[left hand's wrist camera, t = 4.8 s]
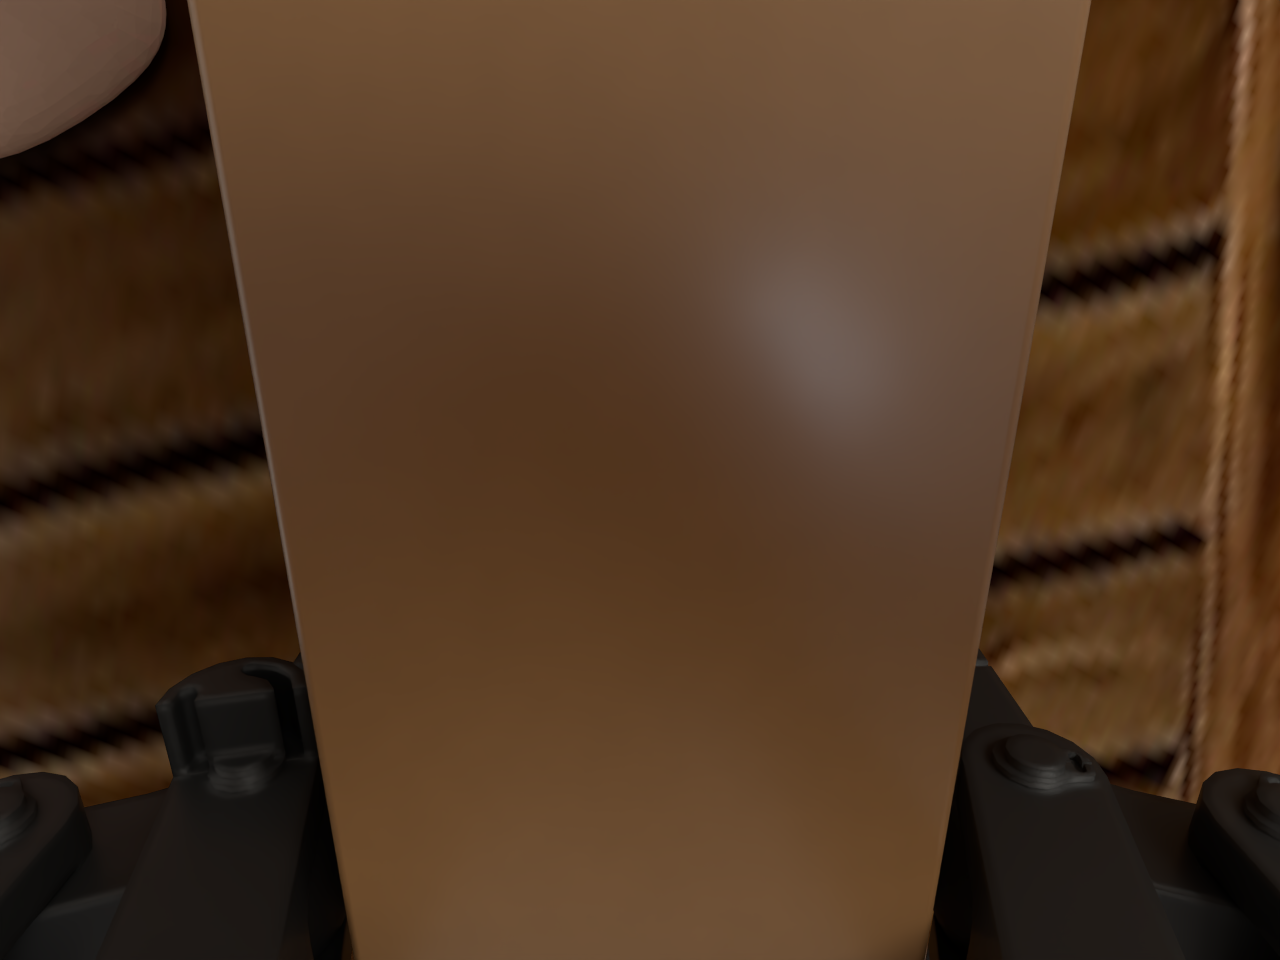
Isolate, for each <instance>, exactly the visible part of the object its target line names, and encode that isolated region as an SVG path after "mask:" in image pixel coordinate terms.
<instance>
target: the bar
mask: <svg viewBox="0 0 1280 960" xmlns="http://www.w3.org/2000/svg"><path fill="white" fill-rule="evenodd" d="M187 2H188V8H189V13H190V19H191V25H192V31H193V36H194V42H195V48H196V54H197V59H198V65H199V71H200V76H201V82H202V88H203V94H204V99H205V105H206V111H207V117H208V122H209V128H210V134H211V140H212V145H213V151H214V157H215V163H216V168H217V174H218V180H219V186H220V191H221V197H222V203H223V209H224V214H225V220H226V226H227V232H228V237H229V243H230V249H231V254H232V260H233V266H234V272H235V277H236V283H237V289H238V295H239V300H240V306H241V312H242V318H243V323H244V329H245V335H246V341H247V346H248V352H249V358H250V364H251V369H252V375H253V381H254V387H255V392H256V398H257V404H258V410H259V415H260V421H261V427H262V432H263V438H264V444H265V450H266V455H267V461H268V467H269V473H270V478H271V484H272V490H273V496H274V501H275V507H276V513H277V519H278V524H279V530H280V536H281V542H282V547H283V553H284V559H285V565H286V570H287V576H288V582H289V588H290V593H291V599H292V605H293V610H294V616H295V622H296V628H297V633H298V639H299V645H300V651H301V656H302V662H303V668H304V674H305V679H306V685H307V691H308V697H309V702H310V708H311V714H312V720H313V725H314V731H315V737H316V743H317V748H318V754H319V760H320V766H321V771H322V777H323V783H324V788H325V794H326V800H327V806H328V811H329V817H330V823H331V829H332V834H333V840H334V846H335V852H336V857H337V863H338V869H339V875H340V880H341V886H342V892H343V898H344V903H345V909H346V915H347V921H348V926H349V932H350V938H351V944H352V949H353V955H354V960H924V959H925V953H926V948H927V942H928V936H929V930H930V925H931V919H932V913H933V907H934V902H935V896H936V890H937V884H938V879H939V873H940V867H941V861H942V856H943V850H944V844H945V838H946V833H947V827H948V821H949V815H950V809H951V804H952V798H953V792H954V786H955V781H956V775H957V769H958V763H959V758H960V752H961V746H962V740H963V735H964V729H965V723H966V717H967V712H968V706H969V700H970V694H971V689H972V683H973V677H974V671H975V666H976V660H977V654H978V648H979V643H980V637H981V631H982V625H983V620H984V614H985V608H986V602H987V597H988V591H989V585H990V579H991V574H992V568H993V562H994V556H995V551H996V545H997V539H998V533H999V528H1000V522H1001V516H1002V510H1003V505H1004V499H1005V493H1006V487H1007V481H1008V476H1009V470H1010V464H1011V458H1012V453H1013V447H1014V441H1015V435H1016V430H1017V424H1018V418H1019V412H1020V407H1021V401H1022V395H1023V389H1024V384H1025V378H1026V372H1027V366H1028V361H1029V355H1030V349H1031V343H1032V338H1033V332H1034V326H1035V320H1036V315H1037V309H1038V303H1039V297H1040V292H1041V286H1042V280H1043V274H1044V269H1045V263H1046V257H1047V251H1048V246H1049V240H1050V234H1051V228H1052V223H1053V217H1054V211H1055V205H1056V200H1057V194H1058V188H1059V182H1060V177H1061V171H1062V165H1063V159H1064V153H1065V148H1066V142H1067V136H1068V130H1069V125H1070V119H1071V113H1072V107H1073V102H1074V96H1075V90H1076V84H1077V79H1078V73H1079V67H1080V61H1081V56H1082V50H1083V44H1084V38H1085V33H1086V27H1087V21H1088V15H1089V10H1090V4H1091V0H187Z"/></svg>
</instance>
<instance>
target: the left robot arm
mask: <svg viewBox="0 0 1280 960" xmlns="http://www.w3.org/2000/svg"><path fill="white" fill-rule="evenodd" d="M155 707H156V711H157V715H158V718H159V722H160V726H161V730H162V734H163V738H164V742H165V746H166V750H167V754H168V757H169V761H170V765H171V769H172V773H173V779H172V782H171V784H170V786H169V788H166V789H163V790H159V791H156V792H152V793H149V794H145V795H140V796H135V797H131V798H126V799H122V800H117V801H112V802H108V803H103V804H99V805H94V806H89V807H85V808H84V806H83V803H82V799H81V796H80V793H79V790H78V787H77V786H76V785H75V784H74V783H73V782H72V781H71V780H69V779H68V778H67V777H66V776H63V775H58V774H52V773H46V772H38V773H29V774H20V775H13V776H10V777H6V778H2V779H0V960H351V952H352V946H351V939H350V932H349V926H348V921H347V915H346V909H345V903H344V898H343V892H342V886H341V880H340V875H339V869H338V863H337V857H336V852H335V846H334V840H333V834H332V829H331V823H330V817H329V811H328V806H327V800H326V794H325V788H324V783H323V777H322V771H321V766H320V760H319V754H318V748H317V743H316V737H315V731H314V725H313V720H312V714H311V708H310V702H309V697H308V691H307V685H306V679H305V674H304V668H303V662H302V656H301V652H300V654H299V655H298V657H297V658H296V659H295V661H294V662H289V661H285V660H281V659H277V658H274V657H253V658H242V659H238V660H233V661H228V662H223V663H219V664H216V665H214V666H211V667H209V668H206V669H204V670H201V671H199V672H196V673H194V674H191V675H190V676H188V677H187V678H185V679H184V680H182V681H181V682H179V683H178V684H176V685H175V686H173V687H172V688H170V689H169V690H168V691H167V692H166V693H165V695H164V696H163V697H162V698H161V699H160V701H159V702H158V703H157V704H156V705H155ZM933 910H934V914H933V920H932V926H931V931H930V937H929V943H928V949H927V954H926V960H1280V775H1278V774H1273V773H1270V772H1267V771H1258V770H1249V769H1240V768H1236V769H1230V770H1224V771H1219V772H1215V773H1214V774H1212V775H1211V776H1210V777H1209V778H1208V779H1207V780H1206V781H1204V782H1203V784H1202V787H1201V791H1200V794H1199V797H1198V800H1197V804H1193V803H1189V802H1184V801H1179V800H1175V799H1170V798H1166V797H1161V796H1156V795H1152V794H1147V793H1142V792H1138V791H1133V790H1130V789H1126V788H1123V787H1119V786H1116V785H1112V784H1110V782H1109V780H1108V778H1107V776H1106V774H1105V773H1104V772H1103V770H1102V769H1101V767H1100V766H1099V765H1098V763H1097V762H1096V760H1095V759H1094V758H1093V757H1092V756H1091V755H1089V754H1088V753H1087V752H1085V751H1084V750H1083V749H1081V748H1080V747H1079V746H1077V745H1076V744H1075V743H1073V742H1072V741H1069V740H1067V739H1065V738H1063V737H1061V736H1059V735H1056V734H1054V733H1052V732H1050V731H1048V730H1044V729H1040V728H1036V727H1033V726H1032V724H1031V723H1030V722H1029V720H1028V719H1027V717H1026V716H1025V714H1024V713H1023V711H1022V710H1021V709H1020V707H1019V706H1018V704H1017V703H1016V701H1015V700H1014V699H1013V697H1012V696H1011V694H1010V693H1009V691H1008V690H1007V688H1006V687H1005V686H1004V684H1003V683H1002V681H1001V680H1000V678H999V677H998V675H997V674H996V673H995V671H994V670H993V668H992V667H991V666H988V661H987V660H986V658H985V657H984V655H983V654H982V652H981V651H980V649H979V648H978V654H977V660H976V666H975V671H974V677H973V683H972V689H971V694H970V700H969V706H968V712H967V717H966V723H965V729H964V735H963V740H962V746H961V752H960V758H959V763H958V769H957V775H956V781H955V786H954V792H953V798H952V804H951V809H950V815H949V821H948V827H947V833H946V838H945V844H944V850H943V856H942V861H941V867H940V873H939V879H938V884H937V890H936V896H935V902H934V907H933Z"/></svg>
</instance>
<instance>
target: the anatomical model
mask: <svg viewBox="0 0 1280 960" xmlns="http://www.w3.org/2000/svg"><path fill="white" fill-rule="evenodd" d="M165 26H166V5H165V0H0V158H3V157H7V156H11V155H14V154H18V153H21V152H23V151H25V150H27V149H30V148H32V147H34V146H37V145H39V144H41V143H44V142H46V141H48V140H50V139H52V138H54V137H56V136H57V135H59V134H61V133H62V132H64V131H66V130H68V129H69V128H71V127H73V126H75V125H76V124H78V123H80V122H82V121H83V120H85V119H86V118H88V117H89V116H90V115H92V114H93V113H95V112H96V111H98V110H99V109H100V108H102V107H103V106H105V105H106V104H108V103H109V102H111V101H112V100H113V99H114V98H116V97H117V96H118V95H119V94H120V93H121V92H123V91H124V90H125V89H126V88H127V87H128V86H129V85H131V84H132V83H133V82H134V81H135V80H136V79H137V78H138V77H139V76H140V75H141V74H142V73H143V71H144V70H145V69H146V68H147V67H148V66H149V64H150V63H151V61H152V60H153V58H154V56H155V55H156V53H157V52H158V50H159V47H160V45H161V42H162V39H163V36H164V31H165Z"/></svg>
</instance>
